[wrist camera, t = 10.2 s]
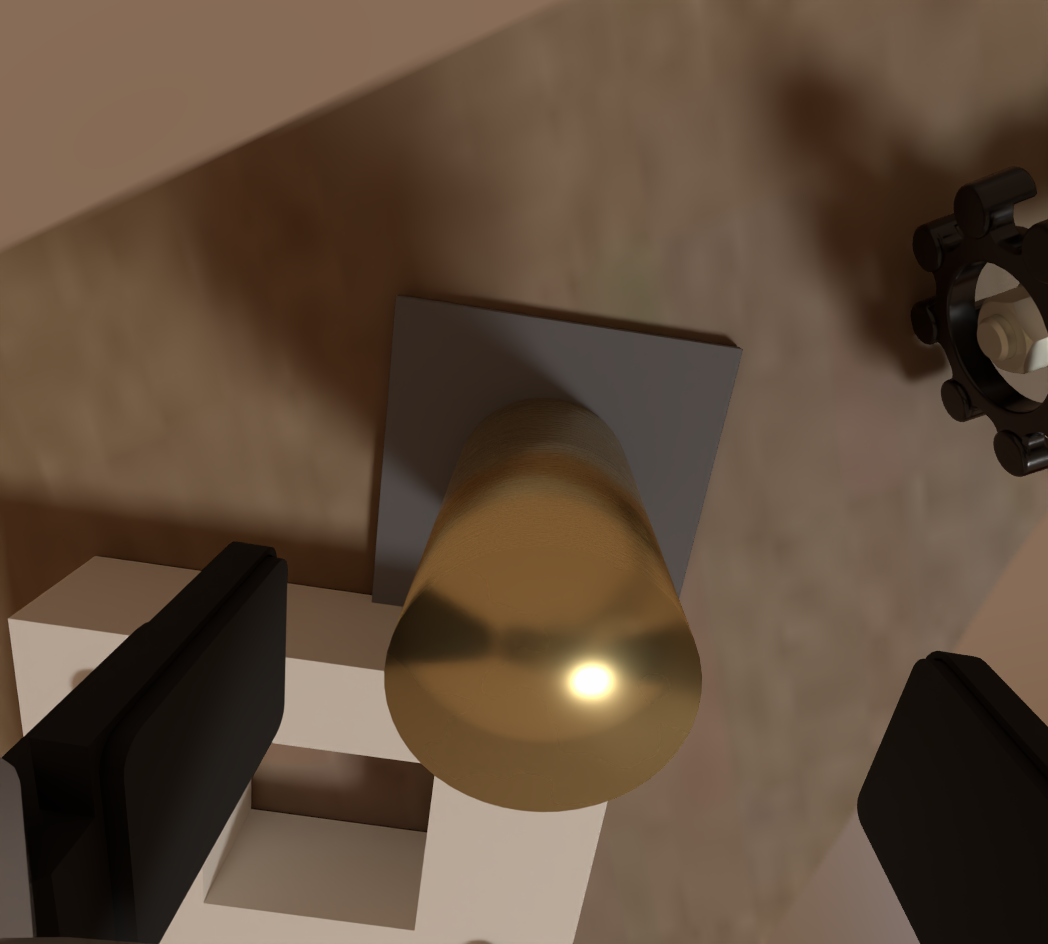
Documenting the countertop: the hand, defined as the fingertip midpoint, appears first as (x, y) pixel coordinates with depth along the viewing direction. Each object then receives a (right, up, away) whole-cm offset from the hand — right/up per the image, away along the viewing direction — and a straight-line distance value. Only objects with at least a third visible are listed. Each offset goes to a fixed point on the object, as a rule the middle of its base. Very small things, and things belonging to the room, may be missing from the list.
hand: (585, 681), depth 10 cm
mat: (0, +3, +9) cm, 10 cm away
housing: (-7, -6, +13) cm, 16 cm away
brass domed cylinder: (0, +3, +9) cm, 9 cm away
